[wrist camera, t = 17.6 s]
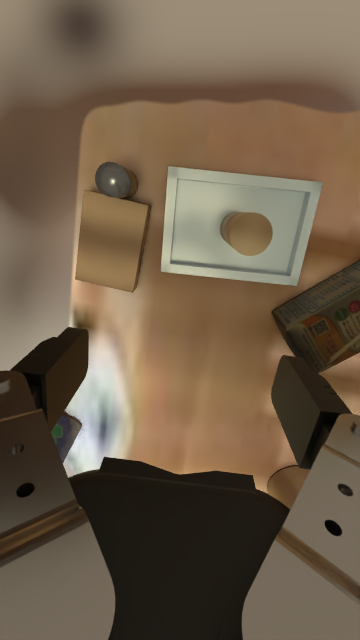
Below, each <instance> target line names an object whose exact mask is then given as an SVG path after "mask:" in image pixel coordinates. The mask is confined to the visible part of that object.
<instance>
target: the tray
mask: <svg viewBox="0 0 360 640" xmlns="http://www.w3.org/2000/svg"><path fill="white" fill-rule="evenodd" d="M322 185H323V182H314V181H304V180H295V179H285V178H276V177H266V176H256V175H247V174H237V173H228V172H218V171H208V170H199V169H189V168H180V167H170V166H168V178H167V192H166V206H165V219H164V233H163V247H162V260H161V272H169V273H178V274H188V275H197V276H207V277H216V278H226V279H235V280H245V281H254V282H264V283H274V284H283V285H293V286H297V283H298V279H299V276H300V272H301V268H302V264H303V260H304V256H305V252H306V248H307V244H308V240H309V236H310V232H311V228H312V224H313V220H314V216H315V212H316V208H317V205H318V201H319V197H320V193H321V189H322ZM232 212H254V213H260V214H262V215H264V216H265V217H266V218H267V219H268V220H269V221H270V223H271V225H272V229H273V236H272V240H271V242H270V244H269V246H268V247H267V248H266V249H265V250H264V251H263V252H262V253H260V254H258V255H255V256H245V255H242V254H240V253H238V252H237V251H236V250H235V249H234V248H232V247H231V246H230V245H229V244H228V243H227V242H226V241H225V240H224V239H223V238H222V236H221V233H220V226H221V222H222V220H223V219H224V218H225V217H226V216H227V215H228V214H230V213H232Z"/></svg>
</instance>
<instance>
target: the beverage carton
mask: <svg viewBox="0 0 360 640" xmlns="http://www.w3.org/2000/svg"><path fill="white" fill-rule="evenodd" d="M272 314H273V317H274V319H275V321H276V324H277V326H278V328H279V330H280V332H281V333H282V335H283V337H284V339H285V341H286V343H287V344H288V346H289V348H290V349H291V351H292V352H293V354H294V355H295V357H301V358H303V359H304V360H305V362H306V363H307V364H308V366H309V367H310V368H311V370H312V371H315V372H317V373H320V372H322V371H324V370H327V369H329V368H330V367H332V366H334V365H336V364H338V363H340V362H342V361H344V360H346V359H348V358H350V357H352V356H354V355H355V354H357V353H359V352H360V261H358V262H356V263H355V264H353V265H351V266H350V267H348V268H346V269H344V270H343V271H341V272H339V273H337V274H335V275H334V276H332V277H330V278H329V279H327V280H325V281H324V282H322V283H320V284H318V285H317V286H315V287H313V288H311V289H310V290H308V291H306V292H305V293H303V294H301V295H300V296H298V297H296V298H295V299H293V300H291V301H289V302H288V303H286V304H284V305H283V306H281V307H279V308H278V309H276V310H274V311H272Z"/></svg>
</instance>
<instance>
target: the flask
mask: <svg viewBox="0 0 360 640" xmlns="http://www.w3.org/2000/svg"><path fill="white" fill-rule="evenodd" d="M81 425H82V424H81V423H80V422H79V420H78V419H76V418H75V417H74V416H73V417H72V416H70V415H69V414H68V413H66V412H65V411H64V412H63V414H62V415H61V417H60V418H59V420H58V422H57V423H56V425H55V426H54V428H53V430H52V431H51V434H52V436H53V439H54V442H55V444H56V447H57V450H58V452H59V455H60V458H61V460H62V463H63V462H64V460H65V458H66V456H67V454H68V452H69V450H70V448H71V447H72V445H73V443H74V440H75V439H76V437H77V435H78V433H79V431H80V429H81Z"/></svg>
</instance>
